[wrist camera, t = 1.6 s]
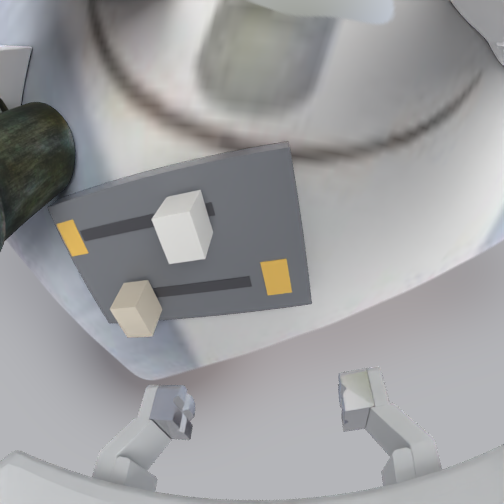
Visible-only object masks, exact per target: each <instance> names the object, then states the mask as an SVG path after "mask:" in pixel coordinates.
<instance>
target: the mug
mask: <svg viewBox="0 0 504 504" xmlns="http://www.w3.org/2000/svg"><path fill="white" fill-rule="evenodd" d="M0 109H1V111H2V112H1V113H0V251H1V249H2V247H3V244H4V241H5V240H6V239H7V238H8V237H10V236H11V235H12V234H13V233H14V232H15V231H16V230H17V229H18V228H19V227H20V226H21V225H23V224H24V223H25V222H26V221H27V220H28V219H29V218H30V217H32V216H33V215H34V214H35V213H36V212H37V211H39V210H40V209H41V208H42V207H43V206H45V205H46V204H47V203H48V202H49V201H51V200H52V199H53V198H54V197H56V196H57V195H58V194H59V193H61V192H62V191H63V190H64V189H65V188H66V186H67V185H68V183H69V181H70V179H71V177H72V174H73V170H74V163H75V147H74V141H73V137H72V134H71V131H70V128H69V127H68V125H67V123H66V121H65V120H64V118H63V117H62V116H61V115H60V114H59V113H58V112H57V111H56V110H55V109H54V108H52V107H51V106H49V105H47V104H45V103H41V102H32V103H28V104H25V105H21V106H18V107H15V108H13V109H10V110H8V108H7V106H6V105H5V103H4V102H3V100H2V99H1V98H0Z"/></svg>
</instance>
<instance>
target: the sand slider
mask: <svg viewBox="0 0 504 504" xmlns="http://www.w3.org/2000/svg"><path fill="white" fill-rule="evenodd" d="M110 310H111V312H112V314H113V315H114V317H115V319H116V320H117V322H118V323H119V325H120V327H121V328H122V330H123V331H124V333H125V334H126V336H127V338H130V337H153V334H154V331H155V328H156V326H157V323H158V320H159V317H160V314H161V312H162V307H161V305H160V303H159V301H158V299H157V297H156V295H155V293H154V291H153V289H152V287H151V285H150V283H149V281H148V280H143V281H135V282H127V283H123V285H122V287H121V289H120V291H119V293H118V294H117V296H116V298H115V300H114V302H113V304H112V306H111V308H110Z"/></svg>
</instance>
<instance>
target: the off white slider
mask: <svg viewBox="0 0 504 504" xmlns="http://www.w3.org/2000/svg"><path fill="white" fill-rule="evenodd" d="M151 220H152V222H153V225H154V227H155V230H156V233H157V235H158V238H159V240H160V243H161V245H162V248H163V250H164V253H165V255H166V258H167V260H168V263H169V264H174V263H181V262H187V261H194V260H201V259H205V258H206V255H207V252H208V248H209V245H210V242H211V238H212V235H213V230H212V226H211V223H210V220H209V216H208V213H207V210H206V206H205V203H204V200H203V196H202V193H201V190H197V191H192V192H187V193H182V194H178V195H173V196H169V197H166V199H165V200H164V202H163V203H162V204H161V206H160V207H159V209H158V210H157V212H156V213H155V215H154V216H153V218H152V219H151Z"/></svg>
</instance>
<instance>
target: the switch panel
mask: <svg viewBox="0 0 504 504" xmlns="http://www.w3.org/2000/svg"><path fill="white" fill-rule="evenodd" d="M197 190H201V193H202V196H203V200H204V203H205V206H206V210H207V213H208V216H209V220H210V223H211V226H212V230H213V235H212V238H211V242H210V245H209V248H208V252H207V255H206V258H205V259H201V260H194V261H187V262H181V263H174V264H169V263H168V260H167V258H166V255H165V253H164V250H163V248H162V245H161V243H160V240H159V238H158V235H157V233H156V230H155V227H154V225H153V222H152V220H151V219H152V218H153V216H154V215H155V213H156V212H157V210H158V209H159V207H160V206H161V204H162V203H163V202H164V200H165V199H166V197H169V196H173V195H178V194H182V193H187V192H192V191H197ZM48 210H49V213H50V215H51V217H52V219H53V221H54V223H55V226H56V228H57V230H58V232H59V234H60V236H61V238H62V240H63V242H64V244H65V246H66V248H67V250H68V252H69V254H70V256H71V258H72V260H73V262H74V264H75V266H76V267H77V269H78V271H79V273H80V275H81V277H82V278H83V280H84V282H85V284H86V285H87V287H88V289H89V291H90V292H91V294H92V296H93V297H94V299H95V301H96V302H97V304H98V306H99V307H100V309H101V311H102V312H103V314H104V316H105V317H106V319H107V320H108V322H109V323H118V322H117V320H116V319H115V317H114V315H113V314H112V312H111V310H110V308H111V306H112V304H113V302H114V300H115V298H116V296H117V294H118V293H119V291H120V289H121V287H122V285H123V283H127V282H135V281H143V280H148V281H149V283H150V285H151V287H152V289H153V291H154V293H155V295H156V297H157V299H158V301H159V303H160V305H161V307H162V312H161V314H160V317H159V320H171V319H183V318H195V317H206V316H216V315H226V314H236V313H245V312H253V311H262V310H270V309H278V308H286V307H294V306H301V305H308V304H312V301H311V292H310V283H309V275H308V267H307V259H306V251H305V243H304V236H303V229H302V222H301V215H300V208H299V201H298V195H297V188H296V182H295V176H294V170H293V164H292V158H291V152H290V147H289V143H288V142H282V143H276V144H270V145H264V146H258V147H252V148H247V149H242V150H237V151H232V152H227V153H222V154H217V155H212V156H208V157H203V158H199V159H194V160H190V161H186V162H181V163H177V164H173V165H169V166H165V167H161V168H158V169H154V170H150V171H146V172H143V173H139V174H135V175H132V176H128V177H125V178H121V179H118V180H115V181H111V182H108V183H105V184H102V185H98V186H95V187H92V188H89V189H86V190H83V191H80V192H77V193H74V194H71V195H68V196H65V197H62V198H60V199H57V200H56V201H55V202H53V203H52V204H51V205H50V206H49V207H48Z"/></svg>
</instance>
